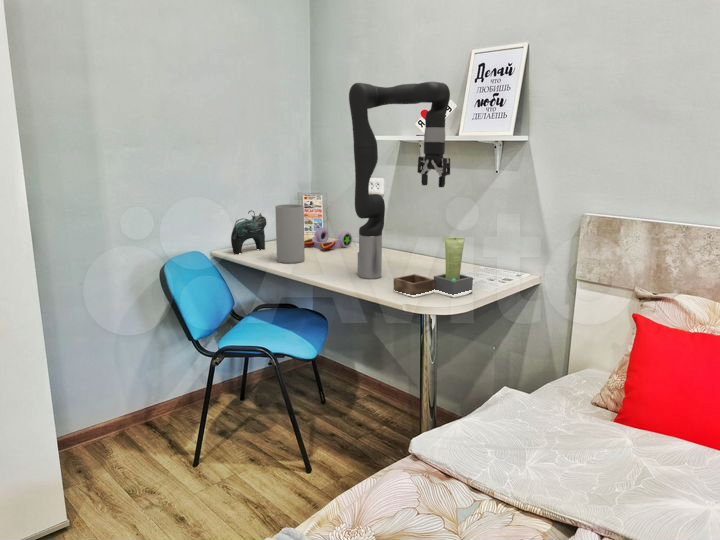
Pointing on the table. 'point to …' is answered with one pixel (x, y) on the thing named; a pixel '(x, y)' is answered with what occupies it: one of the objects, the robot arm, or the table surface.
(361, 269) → the robot arm
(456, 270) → the tube
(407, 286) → the brown wooden square frame
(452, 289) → the socket block
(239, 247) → the ceramic cat
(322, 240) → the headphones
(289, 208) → the cylinder vase
